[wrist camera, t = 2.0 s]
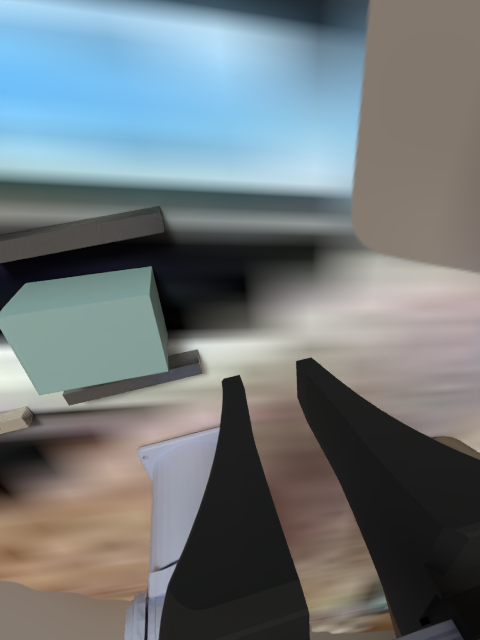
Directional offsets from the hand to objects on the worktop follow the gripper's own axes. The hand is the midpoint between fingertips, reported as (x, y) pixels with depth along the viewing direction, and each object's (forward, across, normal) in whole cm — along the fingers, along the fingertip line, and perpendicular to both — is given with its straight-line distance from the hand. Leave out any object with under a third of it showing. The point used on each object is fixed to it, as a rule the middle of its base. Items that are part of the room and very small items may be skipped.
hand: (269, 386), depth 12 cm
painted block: (+10, +8, 0) cm, 12 cm away
